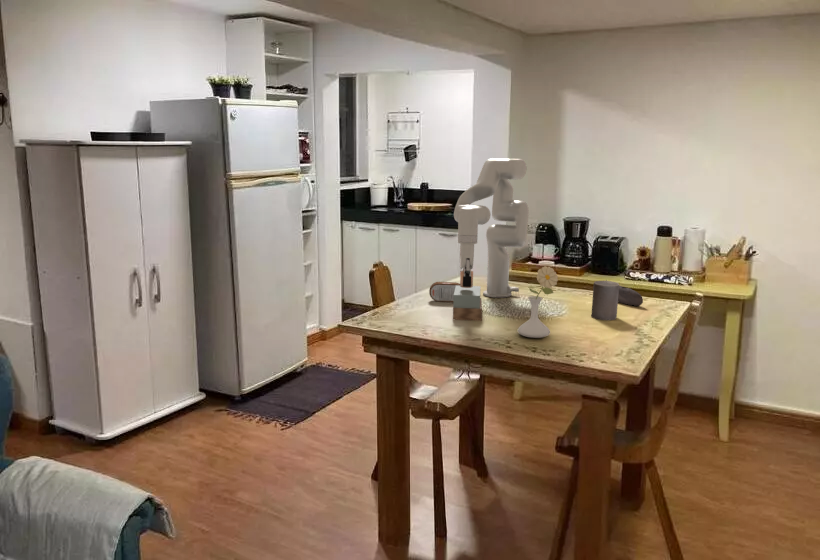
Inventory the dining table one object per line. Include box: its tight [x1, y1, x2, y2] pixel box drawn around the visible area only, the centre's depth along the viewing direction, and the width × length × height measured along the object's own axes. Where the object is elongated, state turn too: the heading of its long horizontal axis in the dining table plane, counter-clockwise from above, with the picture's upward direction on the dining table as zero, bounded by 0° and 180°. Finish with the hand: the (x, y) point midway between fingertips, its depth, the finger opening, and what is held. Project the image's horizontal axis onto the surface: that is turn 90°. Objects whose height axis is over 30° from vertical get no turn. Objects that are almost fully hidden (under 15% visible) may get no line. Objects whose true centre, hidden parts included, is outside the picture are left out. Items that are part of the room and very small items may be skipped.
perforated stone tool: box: [618, 285, 644, 307], centre depth 282 cm, size 15×5×7 cm, turn 29°
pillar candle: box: [590, 279, 620, 321], centre depth 259 cm, size 10×10×15 cm
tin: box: [428, 281, 460, 303], centre depth 284 cm, size 15×3×8 cm, turn 84°
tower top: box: [452, 285, 482, 309], centre depth 262 cm, size 10×18×5 cm, turn 173°
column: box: [459, 269, 474, 288], centre depth 261 cm, size 5×5×6 cm
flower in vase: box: [516, 265, 559, 339], centre depth 231 cm, size 13×11×25 cm
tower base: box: [452, 297, 483, 321], centre depth 263 cm, size 11×19×5 cm, turn 175°
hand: (466, 284), depth 261 cm, fingers closed on column, 5 cm apart
